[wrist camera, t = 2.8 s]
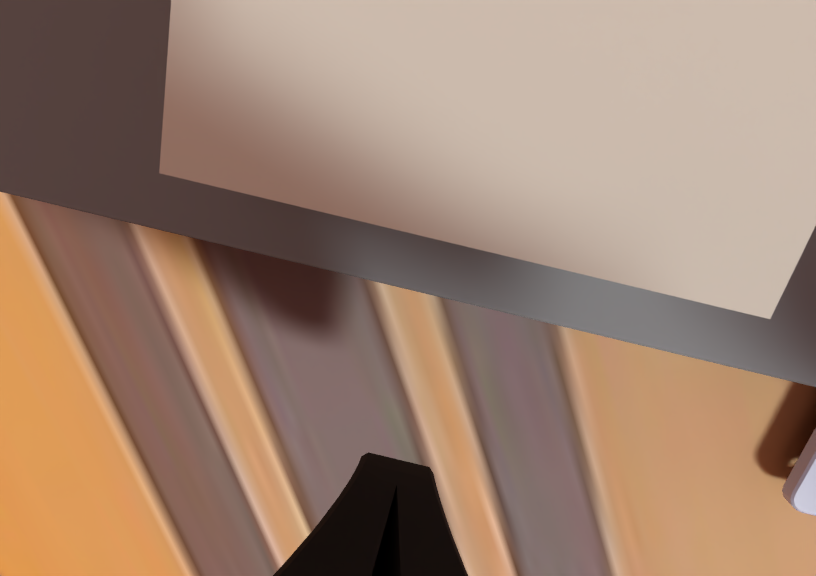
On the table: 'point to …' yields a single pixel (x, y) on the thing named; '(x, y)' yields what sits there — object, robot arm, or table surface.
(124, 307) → the table surface
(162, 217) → the bench plate
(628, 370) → the table surface
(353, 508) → the robot arm
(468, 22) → the cream tile
